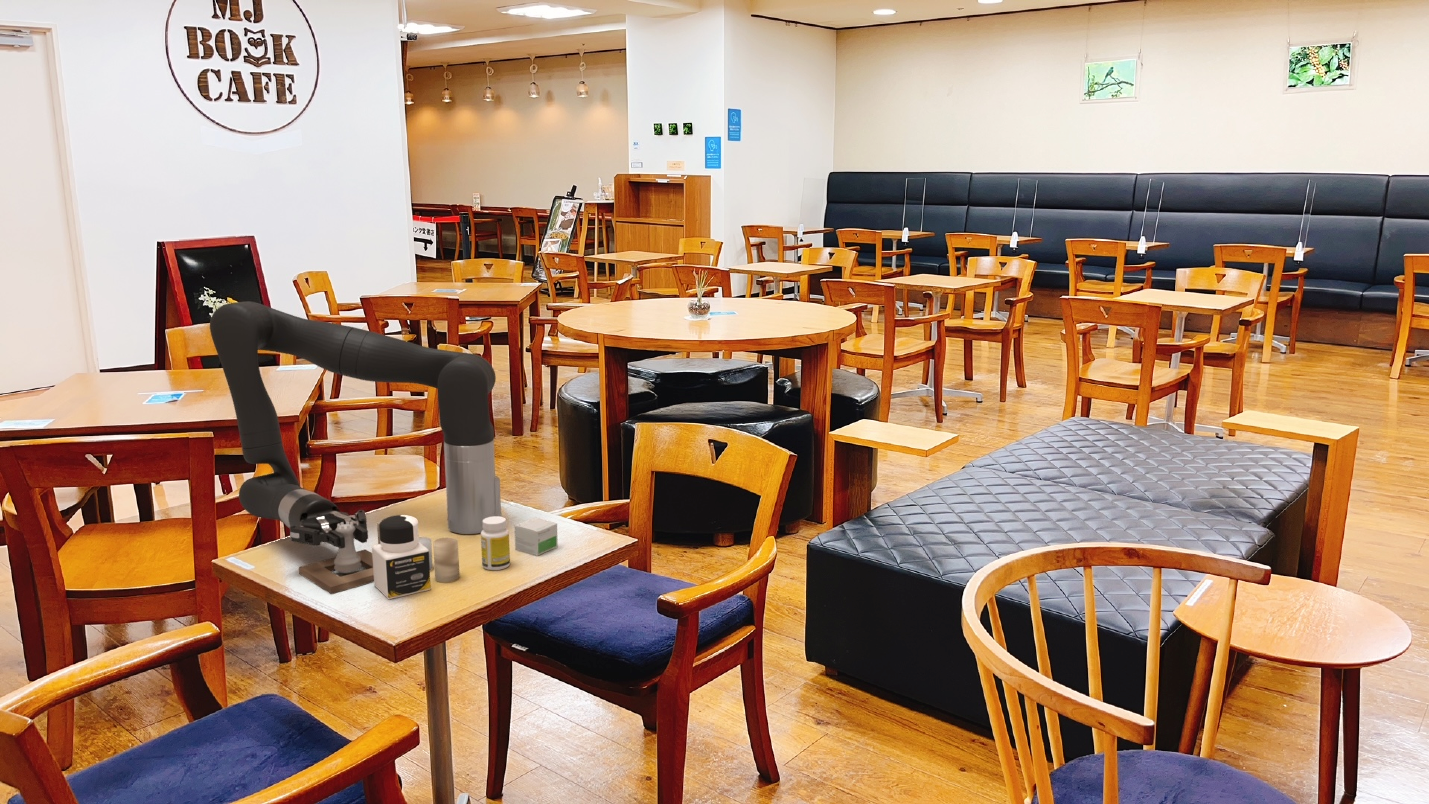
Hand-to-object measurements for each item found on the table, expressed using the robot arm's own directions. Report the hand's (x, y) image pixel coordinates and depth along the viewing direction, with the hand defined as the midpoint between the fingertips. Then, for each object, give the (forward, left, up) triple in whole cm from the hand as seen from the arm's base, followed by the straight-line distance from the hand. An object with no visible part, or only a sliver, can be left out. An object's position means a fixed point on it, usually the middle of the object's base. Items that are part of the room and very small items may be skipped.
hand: (353, 539), depth 170 cm
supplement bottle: (-20, +11, -7) cm, 24 cm away
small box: (-30, +9, -7) cm, 32 cm away
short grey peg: (-10, +3, -7) cm, 13 cm away
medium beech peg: (-11, +10, -7) cm, 17 cm away
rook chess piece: (0, -3, -6) cm, 7 cm away
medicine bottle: (-4, +9, -7) cm, 12 cm away
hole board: (0, -3, -7) cm, 7 cm away
